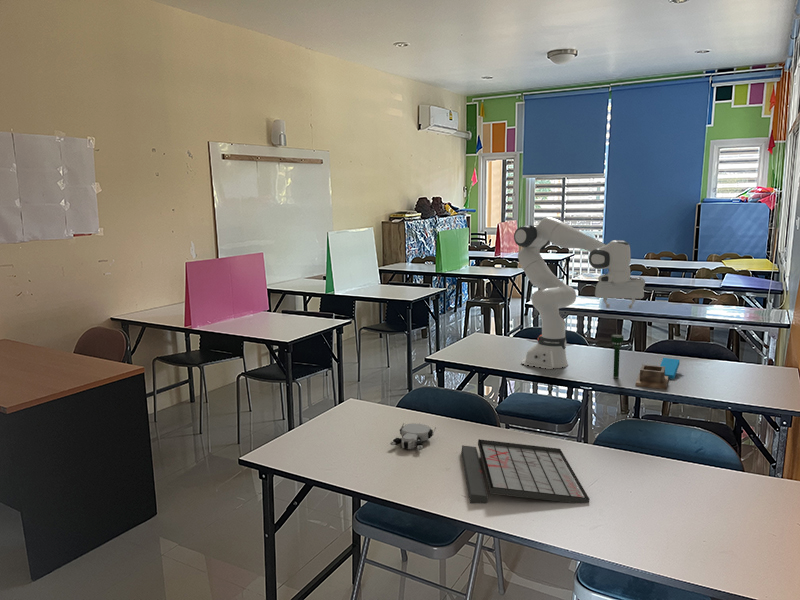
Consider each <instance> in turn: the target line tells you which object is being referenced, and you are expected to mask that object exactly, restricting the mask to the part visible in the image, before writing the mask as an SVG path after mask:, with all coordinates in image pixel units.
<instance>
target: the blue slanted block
mask: <svg viewBox="0 0 800 600" xmlns="http://www.w3.org/2000/svg"><path fill="white" fill-rule="evenodd" d="M659 366H663V367H665V376H668V378H670V379H669V380H675V377H676V375H677V371H678V369H679V366H680V359H678V358H677V359H676V358H670V357H669V358H668V357H663V358H662V361H661V362H660V365H659Z"/></svg>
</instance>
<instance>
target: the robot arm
mask: <svg viewBox="0 0 800 600" xmlns="http://www.w3.org/2000/svg"><path fill="white" fill-rule="evenodd" d="M513 240H514V242H515V244H516V245H517V246H519V247H521V249H520V250H519V251H518V252H517V258H518V262H519V264H520V266H521V268H522V270H523V272H524V274H525V275H526V276H527V279H528V280H529V282H530V283H531V285H533V287H536V288H538V290H536V291H534V292H533V294H532V296H531V303H532V306H533V307H534V308H535V310H537V311H538V313H539V316H540V318H541V334H540V335H538V337H537V343H536V344H535V345H533V346H531V347H530V348H528V350H527V351H526V354H525V357H524V358H522V359H521V363H522V364H524V365H523V366H527V365H529V366H528V367H533V366H535V367H534V368H539V367H541V368H540V369H545V368H546V369H545V370H554V369H561V368H562V367H563V368H566V367H568V366H569V363H568V359H567V354H566V348H567V336H566V321H565V319H564V318H562V317H561V315H560V311H559V310H560V309H562V308H566V307H567V308H568V307H569V306H571V305H573V304H574V303H575V301H576V299H577V293H576V292H577V291H576V290H575V289H574V287H572V286H570V285H568V284H566V283H564V282H563V281H562V280H561V279H560V278H558V277H557V276H556V275H555V274H554V273H553V272H552V270H551V268H550V267H549V266H548V265H547V263H546V261H545V260H544V259H543V257H542V255H541V253H540V252H543V251H545V249H546V248H547V247H548V246H549V244H550V243H552V244H553V245H555V246H557V247H560V248H563V249H581V250H584V251H587V252H589V255H588V262H589V264H590V266H591V267H592V268H593V269H595V270H605V269H606V270H607V269H608V273H605V274H603V275H599V276H598V282H597V283H596V284H595V285H596V286H595V290H594V296H595V297H596V298H597V299H603V302H604V304H605V308H606V309H610V303H608V299H631V303H629V304H628V309H633V305H634V303H635V302H636V300H637V299H638V300H639V299H643V298H644V297H645V291H644V288H645V286H646V280H645V279H644V278H642V277H635V276H634V277H633V276H631V266H630V265H631V262H632V261H631V259H632V257H631V247H630V244H629V242H627V241H625V240H621V239H619V240H618V239H614V240H611V241H610V242H608V243H607V244H606V243H604V242H602V241H600V240H598V239H596V238H593V237H591V236H589V235H588V234H585V233H584V232H582V231H580V230H578V229H577V228H574V227H573V226H571V225H569V224H567V223H565V222H564V221H562V220H559V219H557V218H555V217H553V216H552V217H551V216H546V217H543V218H542V219H541V220H540V221H539V223H538V225H534V224H532V225H531V224H530V225H528V224H527V225H522V226H519V227H518V228H516V230H515V231H514V233H513ZM521 363H520V364H521ZM522 364H521V365H522ZM553 368H554V369H553ZM563 368H562V369H563Z"/></svg>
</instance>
